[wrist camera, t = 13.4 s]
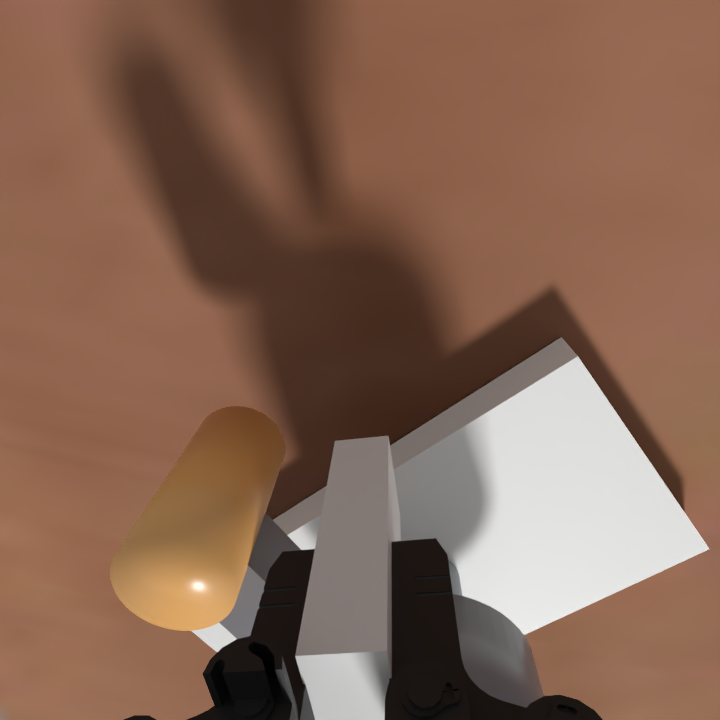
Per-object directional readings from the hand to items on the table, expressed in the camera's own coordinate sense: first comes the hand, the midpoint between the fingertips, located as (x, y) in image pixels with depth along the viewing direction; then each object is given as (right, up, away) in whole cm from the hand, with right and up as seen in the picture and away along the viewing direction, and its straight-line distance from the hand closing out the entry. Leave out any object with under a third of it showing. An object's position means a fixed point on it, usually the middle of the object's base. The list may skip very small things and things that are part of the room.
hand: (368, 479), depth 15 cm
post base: (+3, -6, +11) cm, 12 cm away
